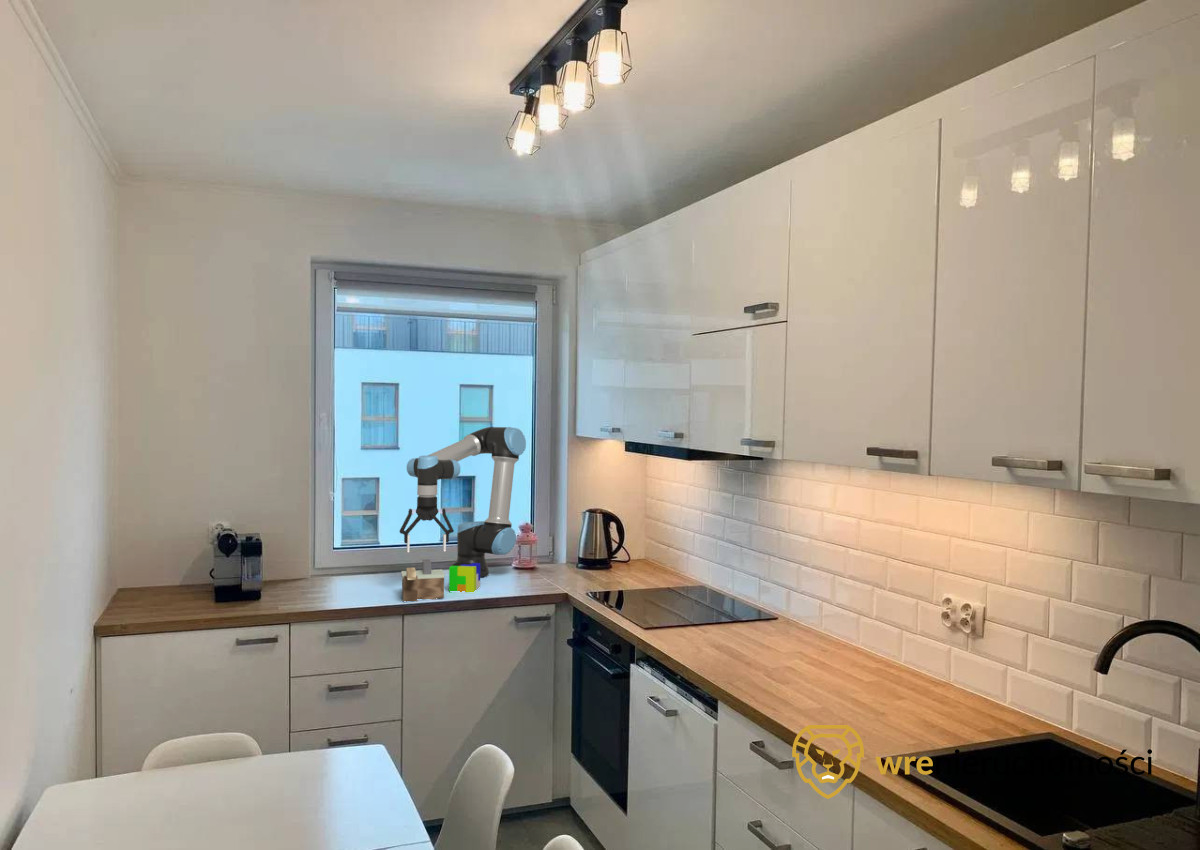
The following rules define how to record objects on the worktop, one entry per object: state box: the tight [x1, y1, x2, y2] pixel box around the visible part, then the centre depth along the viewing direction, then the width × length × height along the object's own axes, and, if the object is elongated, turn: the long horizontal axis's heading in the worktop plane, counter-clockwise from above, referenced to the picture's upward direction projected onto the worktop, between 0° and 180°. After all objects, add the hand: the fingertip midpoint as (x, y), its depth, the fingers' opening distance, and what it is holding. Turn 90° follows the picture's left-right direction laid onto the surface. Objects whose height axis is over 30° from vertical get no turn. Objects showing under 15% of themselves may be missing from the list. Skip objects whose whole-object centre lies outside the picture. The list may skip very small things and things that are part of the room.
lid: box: [400, 559, 446, 580], centre depth 328 cm, size 16×10×7 cm
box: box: [401, 576, 445, 602], centre depth 327 cm, size 15×13×9 cm
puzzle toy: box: [448, 562, 481, 592], centre depth 340 cm, size 10×10×10 cm
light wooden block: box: [405, 567, 417, 580], centre depth 316 cm, size 3×8×3 cm, turn 16°
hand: (426, 551), depth 328 cm, fingers open, 13 cm apart
